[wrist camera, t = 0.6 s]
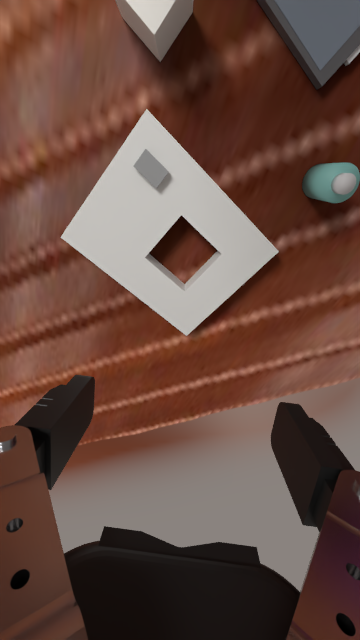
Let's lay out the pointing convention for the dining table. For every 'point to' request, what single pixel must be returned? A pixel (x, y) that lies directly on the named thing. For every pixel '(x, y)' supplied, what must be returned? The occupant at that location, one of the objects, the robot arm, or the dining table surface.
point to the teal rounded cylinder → (331, 182)
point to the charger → (156, 21)
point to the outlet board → (165, 227)
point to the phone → (317, 33)
